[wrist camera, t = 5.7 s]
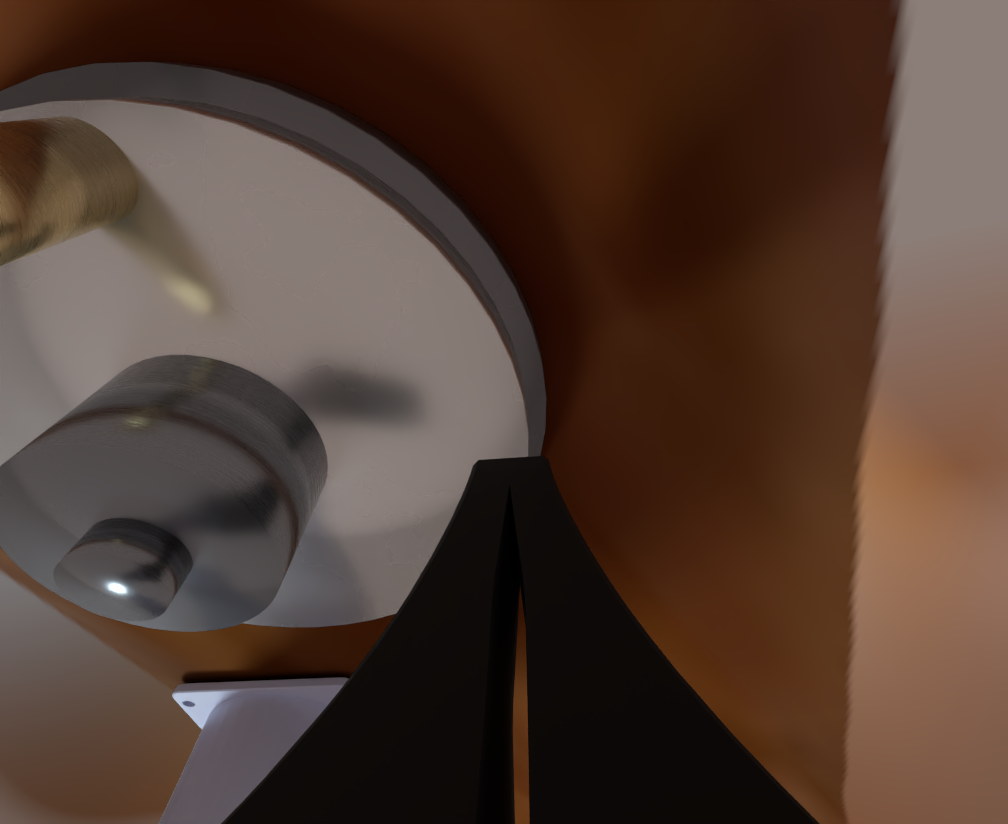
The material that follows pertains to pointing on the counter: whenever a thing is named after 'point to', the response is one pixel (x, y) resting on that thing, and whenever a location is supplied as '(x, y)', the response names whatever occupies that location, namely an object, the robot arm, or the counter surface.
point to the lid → (167, 495)
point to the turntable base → (345, 139)
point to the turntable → (258, 316)
